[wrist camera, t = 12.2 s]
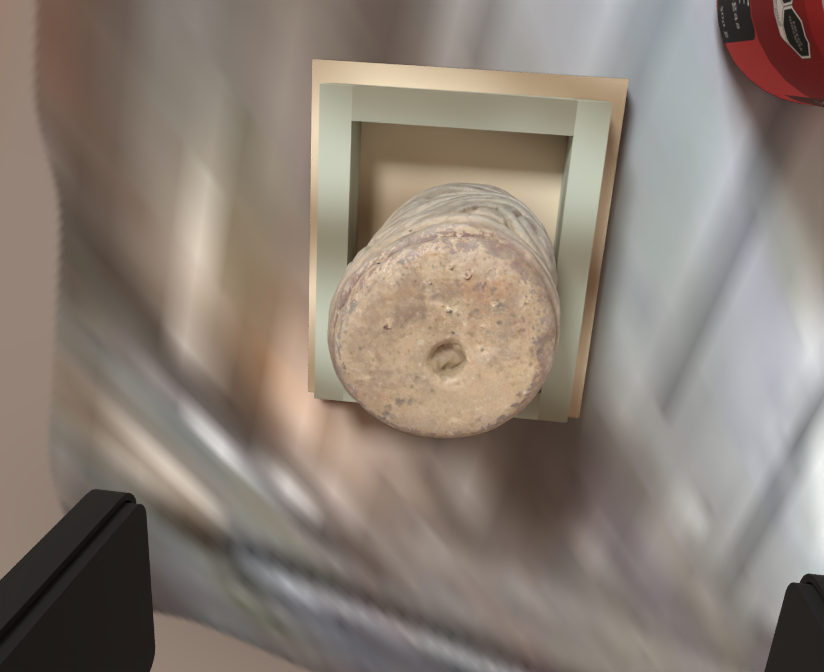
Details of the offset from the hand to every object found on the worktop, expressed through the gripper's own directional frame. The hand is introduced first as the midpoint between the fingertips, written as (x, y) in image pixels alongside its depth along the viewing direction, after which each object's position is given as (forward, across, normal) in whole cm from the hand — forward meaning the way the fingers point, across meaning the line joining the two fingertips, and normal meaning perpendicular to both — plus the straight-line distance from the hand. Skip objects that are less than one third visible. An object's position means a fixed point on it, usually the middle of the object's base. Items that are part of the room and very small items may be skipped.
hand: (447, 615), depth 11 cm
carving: (+22, +1, 0) cm, 22 cm away
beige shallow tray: (+23, +1, 0) cm, 23 cm away
